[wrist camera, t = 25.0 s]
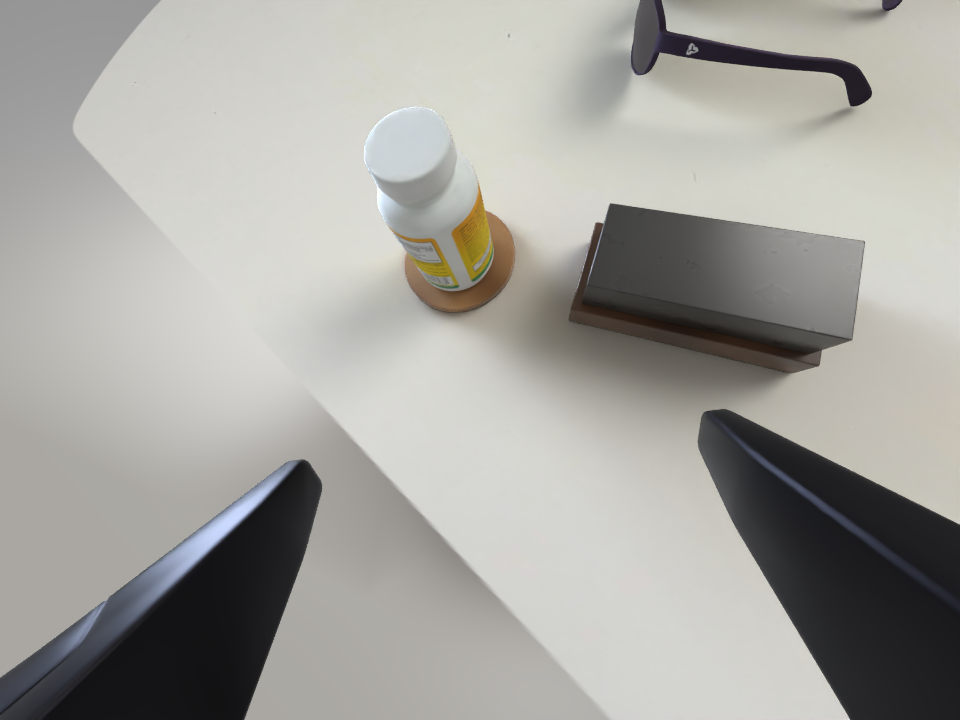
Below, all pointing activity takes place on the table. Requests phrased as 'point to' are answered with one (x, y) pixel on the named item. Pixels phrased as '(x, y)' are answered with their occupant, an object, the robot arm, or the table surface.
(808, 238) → the sharpening stone
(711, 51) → the sunglasses
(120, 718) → the robot arm
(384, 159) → the supplement bottle
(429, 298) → the cork coaster
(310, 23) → the table surface
